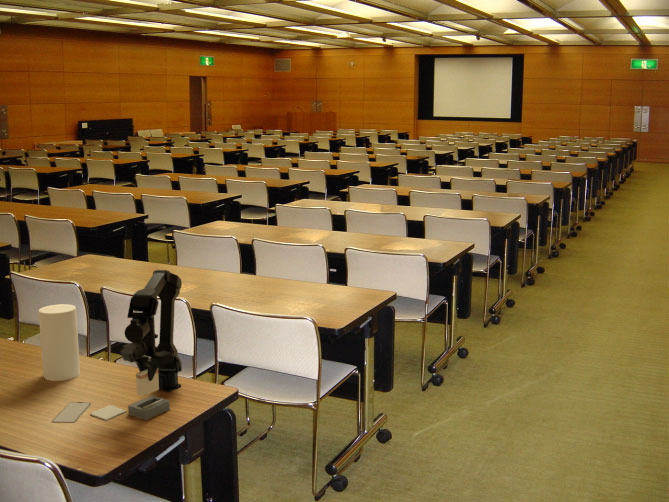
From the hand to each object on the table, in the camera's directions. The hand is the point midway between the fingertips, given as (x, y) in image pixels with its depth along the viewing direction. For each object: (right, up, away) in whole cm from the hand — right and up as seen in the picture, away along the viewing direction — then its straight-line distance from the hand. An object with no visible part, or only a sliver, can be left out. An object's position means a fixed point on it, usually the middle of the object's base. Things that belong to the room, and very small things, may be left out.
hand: (147, 379), depth 223 cm
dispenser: (0, -11, +2) cm, 11 cm away
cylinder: (-40, -5, +34) cm, 53 cm away
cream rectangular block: (0, -4, +1) cm, 4 cm away
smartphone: (-24, -11, +1) cm, 27 cm away
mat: (-13, -11, +1) cm, 17 cm away
